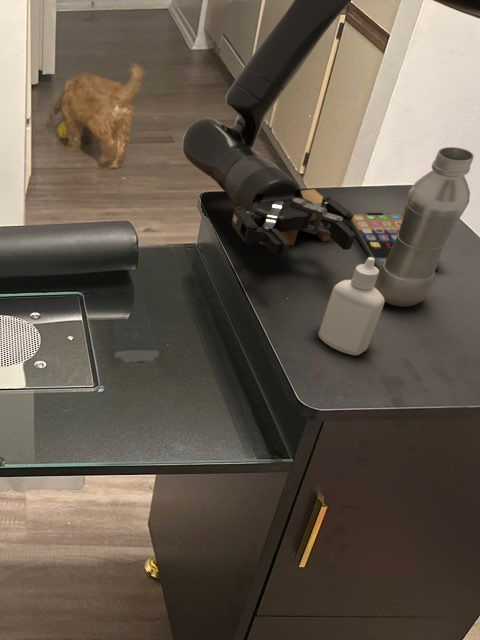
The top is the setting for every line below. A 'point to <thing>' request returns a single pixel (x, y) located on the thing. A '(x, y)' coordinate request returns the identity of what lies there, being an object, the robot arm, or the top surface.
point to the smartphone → (377, 233)
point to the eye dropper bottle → (353, 311)
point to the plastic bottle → (425, 228)
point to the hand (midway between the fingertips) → (317, 247)
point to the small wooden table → (314, 198)
